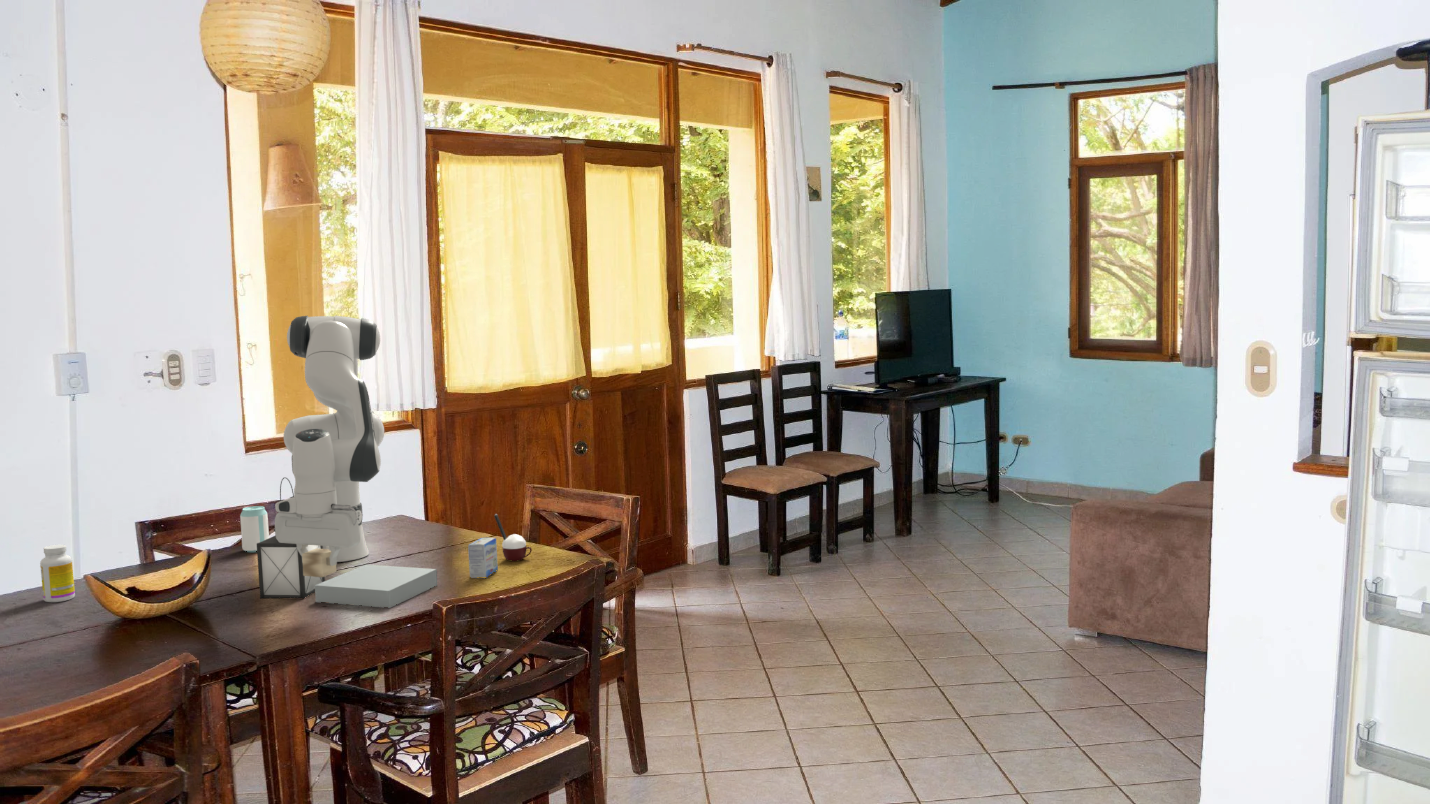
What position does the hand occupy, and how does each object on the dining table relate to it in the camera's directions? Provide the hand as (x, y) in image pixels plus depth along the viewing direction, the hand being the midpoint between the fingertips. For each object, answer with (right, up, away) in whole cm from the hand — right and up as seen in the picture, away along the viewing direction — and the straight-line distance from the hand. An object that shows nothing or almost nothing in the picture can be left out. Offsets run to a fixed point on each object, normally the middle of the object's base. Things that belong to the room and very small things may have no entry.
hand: (319, 564), depth 257 cm
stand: (+8, -9, +17) cm, 21 cm away
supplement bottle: (-69, -11, +18) cm, 72 cm away
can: (-40, -6, +66) cm, 77 cm away
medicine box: (+30, -8, +33) cm, 45 cm away
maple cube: (0, -2, 0) cm, 2 cm away
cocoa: (+35, -6, +48) cm, 60 cm away
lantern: (-13, -10, +20) cm, 26 cm away
